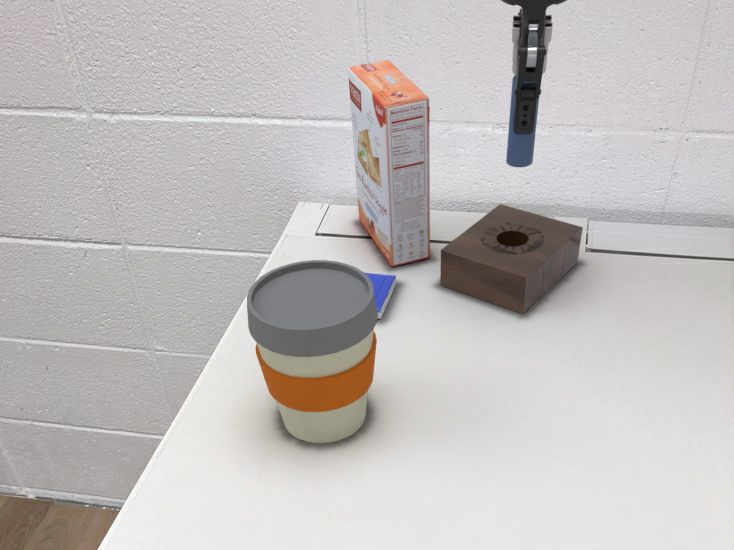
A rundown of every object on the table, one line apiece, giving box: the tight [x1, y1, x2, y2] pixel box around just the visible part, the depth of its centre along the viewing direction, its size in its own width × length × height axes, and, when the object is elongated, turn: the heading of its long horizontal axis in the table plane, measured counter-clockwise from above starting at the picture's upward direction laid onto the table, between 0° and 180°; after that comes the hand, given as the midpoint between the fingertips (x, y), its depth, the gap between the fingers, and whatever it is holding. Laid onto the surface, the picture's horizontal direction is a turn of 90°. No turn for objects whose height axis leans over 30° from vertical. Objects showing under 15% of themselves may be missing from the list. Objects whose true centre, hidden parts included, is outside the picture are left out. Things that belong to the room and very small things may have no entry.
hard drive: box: [364, 272, 397, 320], centre depth 101 cm, size 2×8×12 cm
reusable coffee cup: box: [246, 259, 379, 444], centre depth 81 cm, size 13×13×15 cm
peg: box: [505, 75, 540, 168], centre depth 89 cm, size 3×3×9 cm
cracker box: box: [347, 59, 431, 268], centre depth 103 cm, size 14×6×21 cm, turn 18°
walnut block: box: [439, 203, 584, 315], centre depth 101 cm, size 14×12×5 cm
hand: (523, 125), depth 89 cm, fingers closed on peg, 3 cm apart
